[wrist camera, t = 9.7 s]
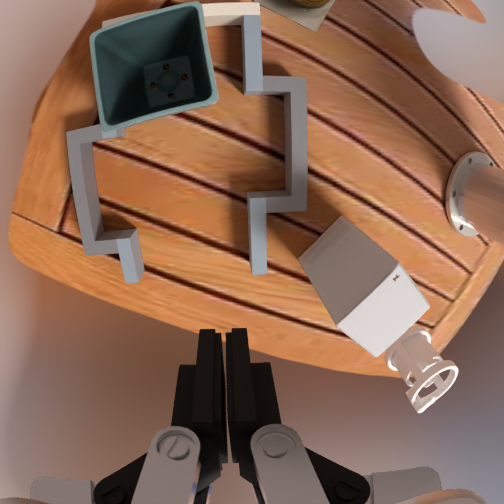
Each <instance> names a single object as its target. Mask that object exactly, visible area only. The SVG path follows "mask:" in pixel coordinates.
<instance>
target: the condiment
mask: <svg viewBox="0 0 504 504" xmlns="http://www.w3.org/2000/svg"><path fill="white" fill-rule="evenodd" d="M254 2H255V3H260V5H262V6H264V7H266V8H268V9H270V10H273V11H275V12H276V13H279V14H281V15H283V16H285V17H287V18H289V19H290V20H293V21H295V22H297V23H299V24H301V25H302V26H304V27H306V28H308V29H310V30H312V31H314V32H315V33H316V31H317V30H318V28H319V26H320V25H321V23H322V21H323V20H324V18H325V16H326V15H327V13H328V11H329V10H330V8H331V6H332V5H333V3H334V2H335V0H254ZM307 9H309V11H307ZM304 10H306V11H305V12H304Z"/></svg>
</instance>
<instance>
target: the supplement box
mask: <svg viewBox="0 0 504 504" xmlns="http://www.w3.org/2000/svg"><path fill="white" fill-rule="evenodd" d="M298 261H299V262H300V264H301V266H302V268H303V269H304V271H305V273H306V274H307V276H308V278H309V279H310V281H311V283H312V285H313V286H314V288H315V290H316V291H317V293H318V295H319V297H320V298H321V300H322V302H323V303H324V305H325V307H326V309H327V311H328V312H329V314H330V316H331V318H332V319H333V321H334V323H335V325H336V326H337V327H338V328H339V329H340V330H341V331H343V332H344V333H345V334H346V335H348V336H349V337H350V338H351V339H353V340H354V341H355V342H356V343H358V344H359V345H360V346H361V347H363V348H364V349H365V350H367V351H368V352H369V353H370V354H372V355H373V356H374V357H378V356H379V355H380V354H381V353H383V352H384V351H385V350H386V349H387V348H388V347H389V346H391V345H392V344H393V343H394V342H395V341H396V340H397V339H398V338H399V337H400V336H401V335H403V334H404V333H405V332H406V331H407V330H408V329H409V328H410V327H411V326H412V325H413V324H414V323H415V322H416V321H417V320H418V319H419V318H420V317H421V316H422V315H423V314H424V313H425V312H426V311H427V310H428V309H429V308H430V304H429V303H428V301H427V300H426V299H425V297H424V296H423V294H422V293H421V291H420V290H419V289H418V287H417V285H416V284H415V283H414V282H413V280H412V279H411V278H410V276H409V275H408V273H407V272H406V271H405V269H404V268H403V267H402V265H401V264H400V262H398V261H397V260H396V259H395V258H394V257H393V256H391V255H390V254H389V253H388V252H387V251H385V250H384V249H383V248H382V247H381V246H379V245H378V244H377V243H376V242H375V241H373V240H372V239H371V238H370V237H369V236H367V235H366V234H365V233H364V232H362V231H361V230H360V229H359V228H357V227H356V226H355V225H353V224H352V223H351V222H350V221H348V220H347V219H346V218H345V217H343V216H342V215H341V216H340V217H339V218H338V219H337V220H336V221H335V222H334V223H333V224H332V225H331V226H330V227H329V228H328V229H327V230H326V231H325V232H324V233H323V234H322V235H321V236H320V237H319V238H318V239H317V240H316V241H315V242H314V243H313V244H312V245H311V246H310V247H309V248H308V249H307V250H306V251H305V252H304V253H303V254H302V255H301V256H300V257H299V259H298Z"/></svg>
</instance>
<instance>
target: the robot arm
mask: <svg viewBox="0 0 504 504" xmlns="http://www.w3.org/2000/svg"><path fill="white" fill-rule="evenodd" d="M445 203H446V212H447V216H448V220H449V222H450V224H451V226H452V227H453V229H454V230H455V231H456V232H458V233H459V234H461V235H463V236H466V237H473V236H475V235H478V234H479V233H481V234H483V235H485V236H486V237H488V238H490V239H492V240H493V241H495V242H497V243H499V244H500V245H502V246H504V170H503V169H500V168H496V166H495V164H494V162H493V161H492V160H491V158H490V157H489V156H487V155H486V154H484V153H482V152H477V151H472V152H468V153H466V154H464V155H463V156H462V157H461V158H460V159H459V160H458V161H457V163H456V164H455V166H454V168H453V169H452V172H451V174H450V177H449V180H448V184H447V189H446V202H445ZM226 378H227V414H228V426H229V436H230V444H231V452H232V460H233V463H239V468H240V476H242V477H243V478H244V479H246V480H247V481H249V482H250V483H251V486H252V489H253V493H254V496H255V499H256V502H257V504H487V503H486V501H485V500H484V499H483V498H482V497H481V496H480V495H479V494H478V493H477V492H475V491H473V490H469V489H447V490H442V487H441V481H440V477H439V474H438V472H436V471H435V470H434V469H432V468H430V467H418V468H412V469H406V470H397V471H389V472H380V473H372V475H365V476H361V475H360V474H358V473H356V472H353V471H351V470H349V469H347V468H345V467H343V466H341V465H339V464H337V463H335V462H333V461H331V460H329V459H327V458H325V457H323V456H321V455H319V454H317V453H315V452H313V451H311V450H309V449H307V448H306V447H304V445H303V443H302V440H301V438H300V436H299V435H298V433H297V432H296V431H295V430H293V429H292V428H290V427H288V426H286V425H282V424H281V419H280V413H279V408H278V402H277V397H276V392H275V386H274V381H273V375H272V370H271V365H270V363H269V362H264V363H250V355H249V346H248V336H247V328H232V332H230V333H226ZM226 423H227V421H226V385H225V373H224V362H223V350H222V337H221V333H216V332H215V329H200V331H199V341H198V351H197V361H196V365H180V367H179V372H178V379H177V386H176V393H175V400H174V407H173V416H172V423H171V427H167V428H165V429H163V430H160V431H159V432H158V433H157V434H156V435H155V436H154V438H153V440H152V442H151V445H150V448H149V451H148V452H147V453H146V454H144V455H142V456H141V457H140V458H138V459H136V460H135V461H133V462H131V463H130V464H128V465H126V466H125V467H123V468H121V469H120V470H118V471H116V472H115V473H113V474H111V475H109V476H108V477H106V478H104V479H102V480H101V481H100V482H92V481H91V480H85V479H67V478H56V477H45V476H44V477H38V478H36V479H35V480H34V481H33V482H32V484H31V488H30V499H28V498H19V497H17V498H16V497H15V498H14V497H10V498H3V499H0V504H209V500H210V495H211V489H212V483H213V482H214V481H215V480H216V479H217V478H219V477H220V476H221V475H220V474H221V473H220V470H222V463H228V452H227V451H228V450H227V424H226Z"/></svg>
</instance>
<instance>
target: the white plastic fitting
mask: <svg viewBox="0 0 504 504" xmlns="http://www.w3.org/2000/svg"><path fill="white" fill-rule="evenodd" d="M422 334H424V336H423V335H422ZM430 341H431V338H430V335H429V333H428V332H427V331H426V330H425V329H424V328H423V327H421V326H414V327H410V328H409V329H408V330H407V331H406V332H405V333H404V334H403V335H401V336H400V337H399V338H398V339H397V340H396V341H395V342H394V343H393V344H392V345H391V346H389V347H388V348H387V349H386V352H385V356H384V358H385V362H386V363H387V365H388V366H389V368H390V369H392V370H395V371H399V373H400V374H401V376H402V378H403V379H404V381H405V382H406V384H407V385H408V386H411V387H412V386H413V385H414V386H413V387H412V388H410V389H409V390H408V391H407V392H406V394H407V396H408V399H409V400H410V402H411V404H412V405H413V406H414V407H415V409H416V411H417V412H418V413H422V412H423V411H424V410H425V409H426V408H427V407H429V406H430V405H431V404H433V403H434V402H435V400H436V399H438V398H439V397H440V396H442V395H443V394H444V393H445V392H446V391H447V390H448V389H449V388H450V387H451V385H452V384H453V383H454V381H455V379H456V377H457V375H458V368H457V367H456V366H455V364H454V363H453V362H452V361H450V360H445V361H443V360H442V358H441V357H440V355H439V354H438V353H437V352H436V350H435V349H434V348H433V347H432V346H431V344H430ZM391 361H392V362H393V363H392V362H391ZM448 369H451V371H450V374H449V376H448V377H447V379H446V380H445V382H444V381H443V380H442V379H441V377H440V376H439V373H440V372H442V371H445V370H448ZM410 374H411V375H412V374H413V376H414V377H415V379H416V381H415V382H414V384H413V383H411V382H410V380H409V379H408V378H409V375H410ZM433 382H434V384H435V385H436V386H437V388H438V389H437V390H435V391H434V392H432V393H431V394H429V395H427V396H425V397H423V398H420V397H419V395H418V392H419V391H420V389H421V388H422V387H423V386H424V387H425V388H426V387H428V386H429V385H431V384H432V383H433Z"/></svg>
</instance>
